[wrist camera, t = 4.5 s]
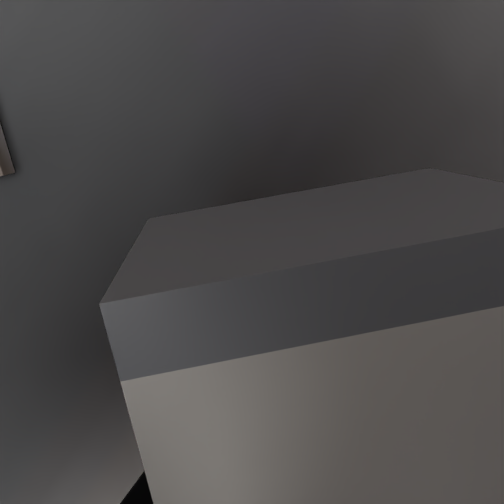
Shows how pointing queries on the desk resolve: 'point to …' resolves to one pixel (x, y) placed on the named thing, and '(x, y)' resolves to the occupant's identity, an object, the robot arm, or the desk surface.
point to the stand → (5, 157)
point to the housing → (319, 345)
